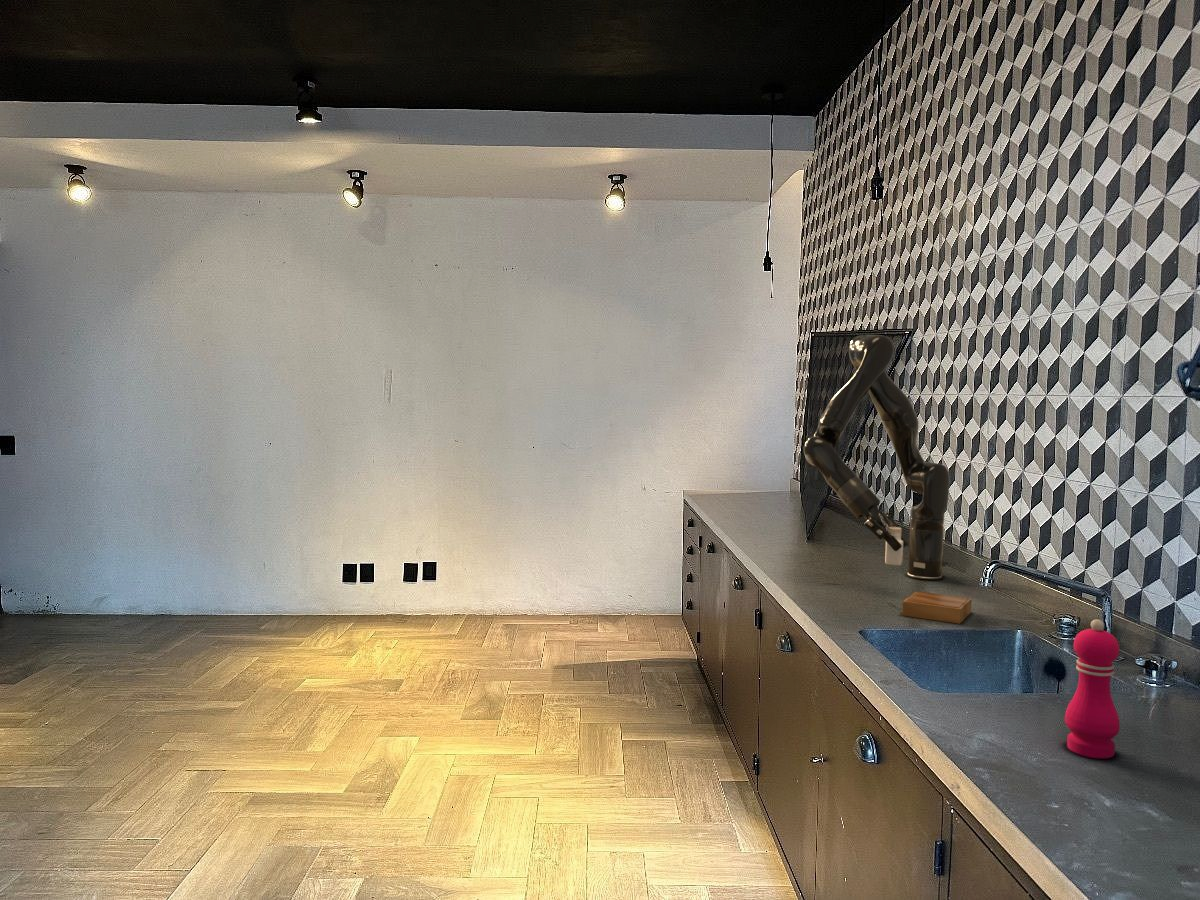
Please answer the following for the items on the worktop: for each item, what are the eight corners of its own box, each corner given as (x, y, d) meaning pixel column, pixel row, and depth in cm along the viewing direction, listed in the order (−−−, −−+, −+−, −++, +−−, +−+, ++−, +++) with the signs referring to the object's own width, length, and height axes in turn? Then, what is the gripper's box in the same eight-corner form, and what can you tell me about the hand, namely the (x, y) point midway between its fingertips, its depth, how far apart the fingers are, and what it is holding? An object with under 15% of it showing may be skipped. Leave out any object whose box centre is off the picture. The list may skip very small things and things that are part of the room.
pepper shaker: (902, 563, 237) (904, 527, 236) (900, 566, 233) (902, 529, 232) (886, 562, 239) (888, 526, 238) (884, 564, 235) (886, 528, 234)
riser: (916, 605, 228) (916, 590, 227) (970, 612, 221) (971, 597, 220) (902, 615, 217) (903, 600, 216) (959, 623, 210) (960, 608, 209)
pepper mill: (1053, 741, 139) (1060, 613, 138) (1098, 740, 140) (1105, 613, 139) (1082, 761, 132) (1089, 626, 131) (1129, 760, 133) (1137, 625, 131)
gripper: (858, 490, 233) (904, 542, 227) (876, 485, 245) (920, 535, 239) (838, 509, 236) (882, 560, 230) (856, 503, 248) (899, 552, 242)
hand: (901, 547), depth 234 cm, fingers closed on pepper shaker, 4 cm apart
